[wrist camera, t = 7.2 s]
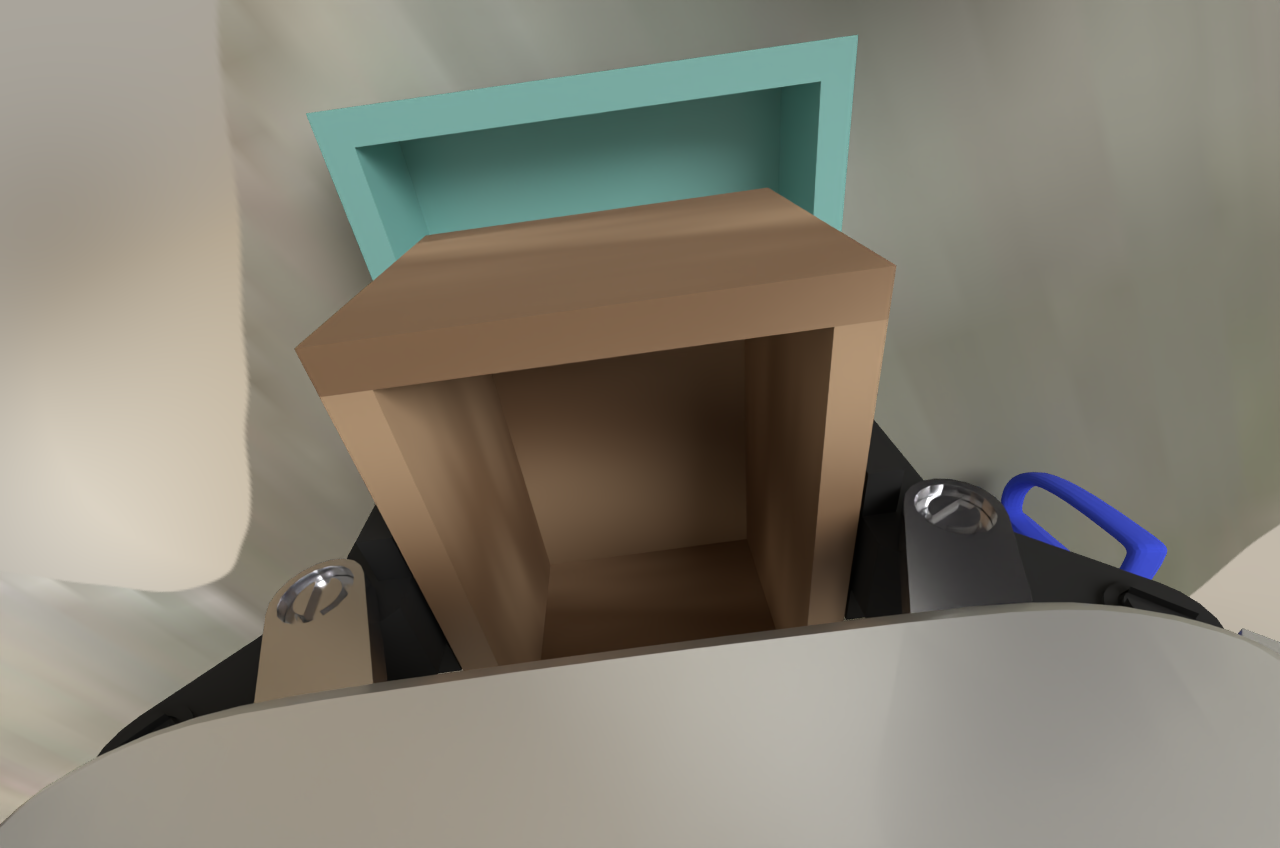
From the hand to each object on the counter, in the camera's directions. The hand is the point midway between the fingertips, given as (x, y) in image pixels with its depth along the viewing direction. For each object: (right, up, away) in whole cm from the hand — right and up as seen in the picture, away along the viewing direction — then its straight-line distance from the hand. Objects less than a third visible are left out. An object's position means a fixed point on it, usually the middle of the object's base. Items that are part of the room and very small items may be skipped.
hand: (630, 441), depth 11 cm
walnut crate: (0, +1, +1) cm, 1 cm away
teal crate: (-1, +7, +12) cm, 14 cm away
